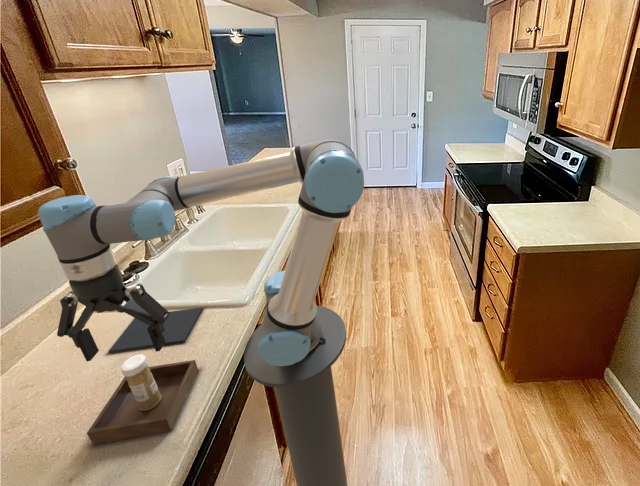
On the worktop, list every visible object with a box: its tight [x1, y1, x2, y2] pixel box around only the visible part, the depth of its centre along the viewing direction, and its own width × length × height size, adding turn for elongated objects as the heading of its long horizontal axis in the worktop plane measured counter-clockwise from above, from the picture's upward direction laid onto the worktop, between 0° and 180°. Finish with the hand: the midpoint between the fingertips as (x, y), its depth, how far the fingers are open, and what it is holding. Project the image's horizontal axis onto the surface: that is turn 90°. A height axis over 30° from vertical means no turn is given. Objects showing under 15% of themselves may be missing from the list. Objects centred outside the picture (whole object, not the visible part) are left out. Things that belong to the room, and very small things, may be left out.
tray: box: [86, 359, 199, 446], centre depth 79 cm, size 16×16×4 cm
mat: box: [108, 307, 204, 354], centre depth 102 cm, size 20×14×1 cm
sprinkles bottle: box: [120, 354, 162, 411], centre depth 77 cm, size 5×5×14 cm
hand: (127, 351), depth 73 cm, fingers open, 13 cm apart
